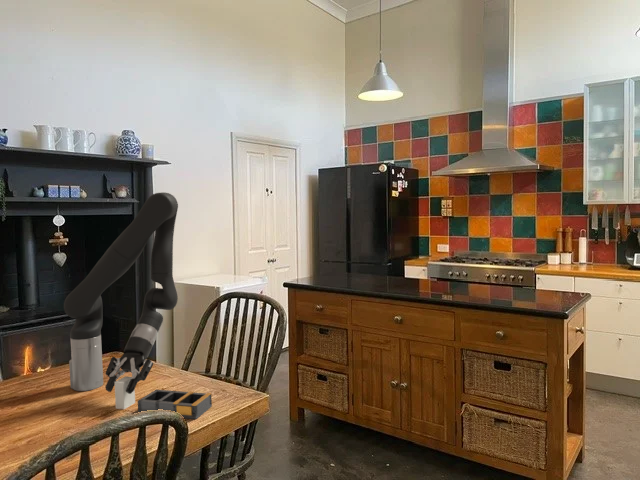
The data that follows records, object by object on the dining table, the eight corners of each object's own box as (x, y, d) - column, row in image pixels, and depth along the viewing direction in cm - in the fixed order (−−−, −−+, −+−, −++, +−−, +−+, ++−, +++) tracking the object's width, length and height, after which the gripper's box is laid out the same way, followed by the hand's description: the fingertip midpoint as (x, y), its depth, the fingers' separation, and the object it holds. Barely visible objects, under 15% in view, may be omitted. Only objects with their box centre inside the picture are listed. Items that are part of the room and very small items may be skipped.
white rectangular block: (115, 408, 139) (114, 382, 139) (126, 402, 144) (125, 376, 143) (124, 409, 138) (123, 382, 138) (135, 402, 143) (134, 377, 143)
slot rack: (137, 414, 134) (136, 400, 134) (156, 401, 143) (156, 388, 143) (195, 419, 130) (194, 405, 129) (211, 406, 138) (211, 392, 138)
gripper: (116, 334, 148) (90, 384, 137) (155, 336, 144) (132, 387, 133) (127, 346, 153) (104, 395, 142) (166, 348, 149) (145, 399, 139)
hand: (118, 391), depth 138 cm, fingers open, 6 cm apart
